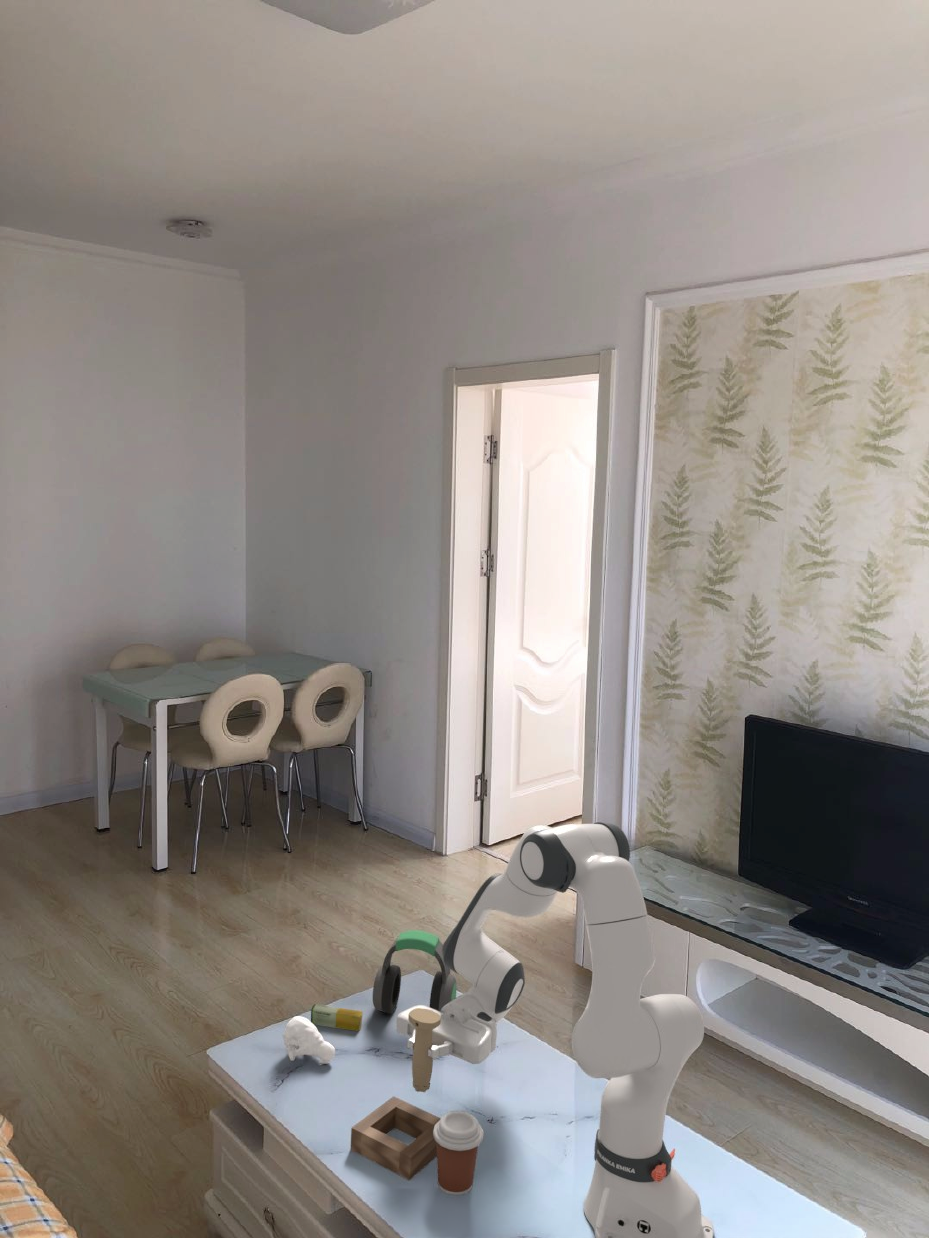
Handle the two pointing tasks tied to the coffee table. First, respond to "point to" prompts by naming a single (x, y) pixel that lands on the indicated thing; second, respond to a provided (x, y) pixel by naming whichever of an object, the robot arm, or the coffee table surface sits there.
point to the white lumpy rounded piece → (306, 1040)
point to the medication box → (336, 1017)
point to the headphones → (390, 976)
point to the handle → (422, 1046)
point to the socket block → (389, 1151)
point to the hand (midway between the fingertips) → (420, 1049)
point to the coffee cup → (457, 1151)
